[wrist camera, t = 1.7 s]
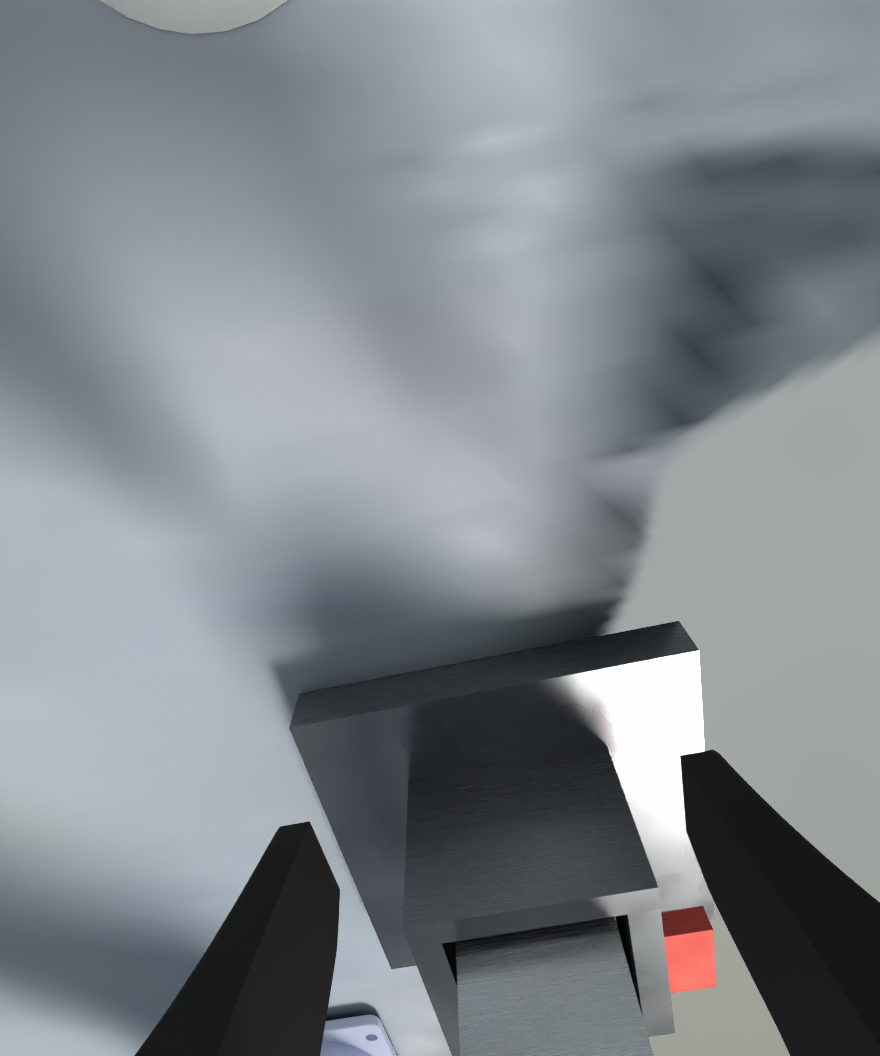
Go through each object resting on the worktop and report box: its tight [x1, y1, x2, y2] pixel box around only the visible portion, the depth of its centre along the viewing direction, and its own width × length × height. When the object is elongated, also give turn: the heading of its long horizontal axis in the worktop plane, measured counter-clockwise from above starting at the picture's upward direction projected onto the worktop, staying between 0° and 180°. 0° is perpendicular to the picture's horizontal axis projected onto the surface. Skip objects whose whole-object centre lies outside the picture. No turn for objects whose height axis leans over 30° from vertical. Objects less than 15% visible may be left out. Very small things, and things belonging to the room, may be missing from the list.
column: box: [456, 916, 653, 1056], centre depth 16 cm, size 4×4×8 cm
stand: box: [289, 621, 716, 1056], centre depth 18 cm, size 12×12×6 cm
